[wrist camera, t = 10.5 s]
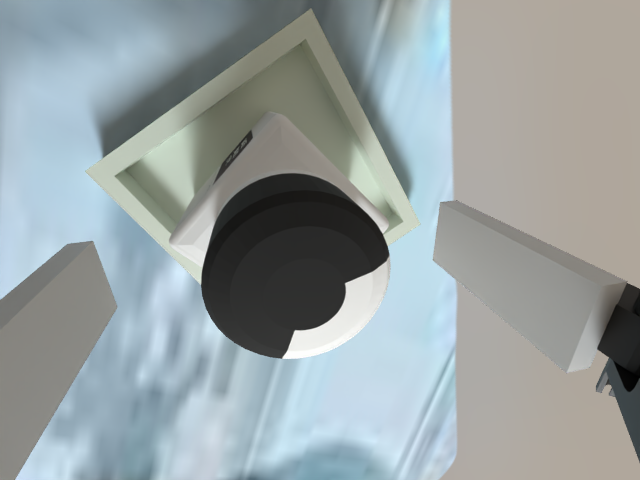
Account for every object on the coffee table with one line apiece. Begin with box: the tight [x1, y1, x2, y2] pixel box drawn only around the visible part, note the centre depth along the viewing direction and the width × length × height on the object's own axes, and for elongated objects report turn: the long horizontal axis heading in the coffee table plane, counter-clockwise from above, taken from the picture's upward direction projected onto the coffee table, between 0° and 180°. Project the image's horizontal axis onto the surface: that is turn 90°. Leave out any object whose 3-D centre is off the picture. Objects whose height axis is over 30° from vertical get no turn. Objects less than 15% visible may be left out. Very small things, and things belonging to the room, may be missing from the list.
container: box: [169, 112, 390, 359], centre depth 16 cm, size 8×8×13 cm
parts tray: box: [85, 9, 420, 284], centre depth 21 cm, size 15×15×2 cm
